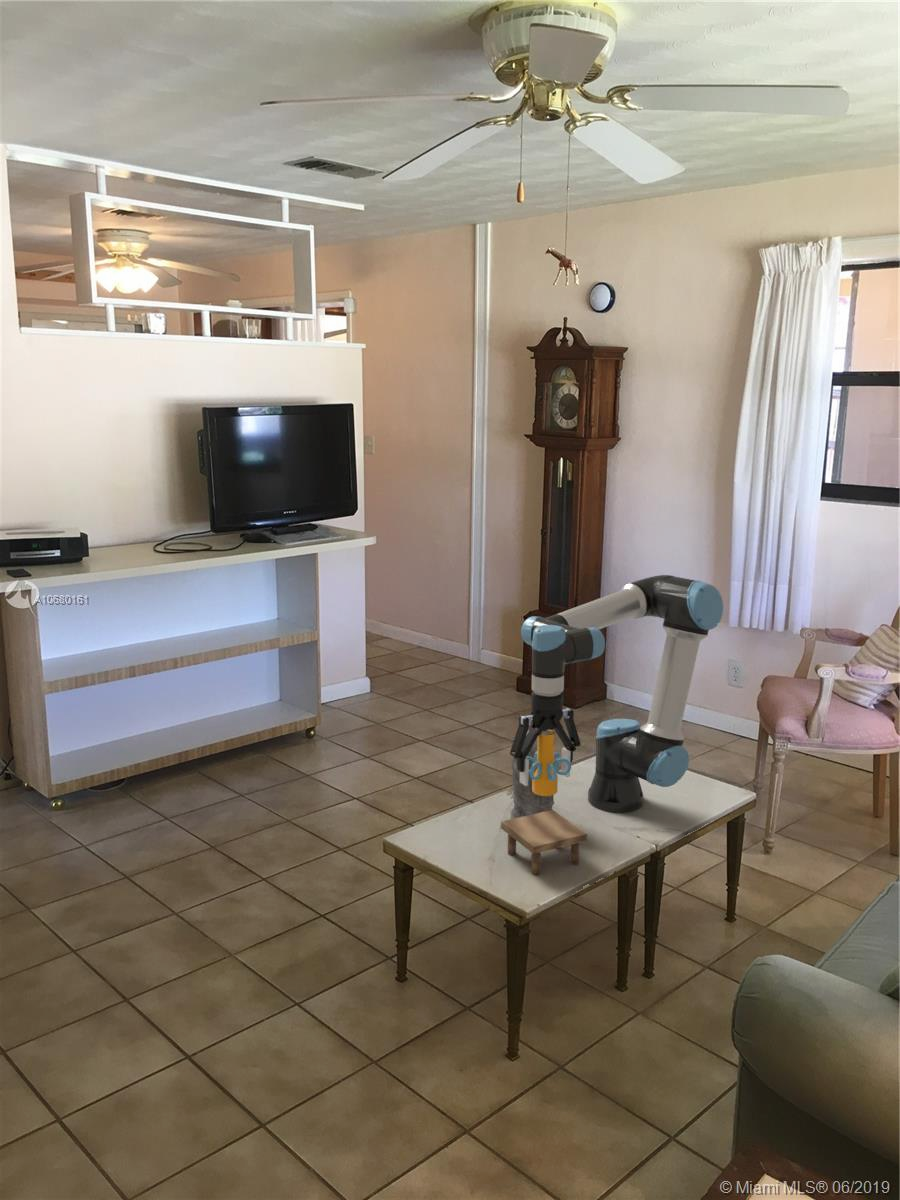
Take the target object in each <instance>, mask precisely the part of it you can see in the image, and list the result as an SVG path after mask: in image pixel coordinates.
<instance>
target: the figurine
mask: <svg viewBox="0 0 900 1200" xmlns="http://www.w3.org/2000/svg"><path fill="white" fill-rule="evenodd" d="M528 732H529V730H528ZM528 732H527V734H528ZM526 736H527V735H526ZM537 743H538V737H537V739H536V741H535V743H534V744H533V746H532V748H531V750H530V752H529V753H528V755H527V757H533V758H534V755H535V752H536V751H537ZM554 753H555V750H554ZM555 759H557V756H555V757H554V760H555ZM511 763H512V765H511V766H512V768H511V769H512V773H511V774H512V777H511V780H512V781H511V782H512V786H511V791H512V793H513V804H514V805H513V807H512V809H511V810H510V815H509V816H510V819H515V818H519V817H523V816H528V815H532V814H536V813H541V812H545V811H550V810H553V806H554V805H555V801H554V795H555V794H554V795H552V796H540V795H537V794H535V793H533V791H532V778H531V776H530V773H529V774H528V786H525V785H523V784H522V783H520V782H519V781H520V771H518V769H517V758H515V757H513V759H512V762H511ZM533 764H534V763H533V761H531V760H529V770H531V767H532V765H533ZM533 773H534V772H533Z"/></svg>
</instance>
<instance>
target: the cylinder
mask: <svg viewBox="0 0 900 1200" xmlns="http://www.w3.org/2000/svg"><path fill="white" fill-rule="evenodd" d="M555 735H556V731H555V730H547V731H542V733H541V734H540V735H539V736H538V743H537V751H536V752H535V755H534V758H533V757H526V758H527V759H529V760H531V761H533V763H534V764H533V765H532V767H531V770H529V773H530V776H531V778H532V791H533V793H535V794H537V795H540V796H552V795H556V794H557V793H558V779H559V778H558V777H559V776H564V775H566V774H568V773H569V772H570V773H571V770H572V765H571V762H569V761H568V760H567V759H565V758H561V755H560V754H559V752H555V753H554V751H555V739H556V737H555ZM555 756H556V760H555V759H554V757H555ZM561 761H563V762H566V763H567V765H568V769H567V770H566V771H564V772H561V770H559V769H558V768H559V765H560V764H561ZM533 772H534V773H533ZM558 775H559V776H558Z"/></svg>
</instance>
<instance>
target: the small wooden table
mask: <svg viewBox="0 0 900 1200" xmlns="http://www.w3.org/2000/svg"><path fill="white" fill-rule="evenodd" d="M500 829H502V830H503V831H504V832H505V833H506V834H507V854H508V855H509V856H515V855H516V854H517V842H518V843H519V844H520V845H521V846H523V848H525V849H527V850H528V851H529V852H530V853H531V875H534V876H539V875H540V874H541V856H542V855H541V854H542V853H543V852H548V851H552V850H557V849H559V848H560V849H561V848H564V847H567V846H570V858H569V859H570V864H571V865H574V866H575V865H579V863H580V860H579V859H580V843H584V842H588V833H587V832H586V831H584V830H582V829H581V828H580V827H578V826H577V825H575V824H574V823H572V822H571V821H569V820H568V819H567V818H565V817H564V816H563V815H561V814H560V813H558V812H557V811H555V810H554V809H552V810H550V811H545V812H541V813H536V814H532V815H528V816H523V817H519V818H515V819H511V818H510V819H506V820H502V821H500Z"/></svg>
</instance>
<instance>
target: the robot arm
mask: <svg viewBox="0 0 900 1200" xmlns="http://www.w3.org/2000/svg"><path fill="white" fill-rule="evenodd" d="M723 614H724V601H723V598H722V595H721V592H720V591H719V589H718V588H717V587H716V586H714V585H713V584H710V583H707V582H703V581H701V580H695V579H690V578H684V577H680V576H674V575H670V574H660V575H654V576H653V575H652V576H650V577H645V578H643V579H639V580H635V581H633V582H630V583H627V584H625V585H623V586H622V588H621V589H620V590H619V591H616V592H613V593H611V594H608V595H604V596H603V597H600V598H596V599H594V600H591V601H589V602H587V603H584V604H581V605H578V606H576V607H573V608H570V609H567V610H565V611H562V612H559V613H556V614H553V615H551V616H548V617H543V616H535V615H534V616H530V617H528V618H527V619H525V620H524V622H523V624H522V626H521V631H520V632H521V638H522V640H523V642H524V643H526V644H527V645H529V646H531V690H532V691H531V693H530V707H531V712H530V713H529V715H523V714H520V715H519V718H518V726H517V730H516V733H515V736H514V738H513V741H512V744H511V749H510V751H509V755H510V756H511V757H513V758H514V757H515V758H517V769H518V771H520V781H519V782H520V783H522V784H523V785H525V786H528V774H529V759H527V758H526V757H527V755H528V753H529V752H530V750H531V748H532V746H533V744H534V743H535V741H536V739H537V737H538V736H539V735H540V734H541V733H542V731H547V730H552V731H554V732H555V734H556V735H557V736H558V738H559V739H560V741H561V743H562V744H563V746H564V747H561V755H560V758H565V759H567V760H568V761H569V762H570V763H573V760H574V757H573V756H574V752H576V750H577V747H580V746H581V739H580V737H579V734H578V730H577V727H576V723H575V720H574V717H575V716H574V715H575V714H574V712H575V711H574V710H572V709H571V708H569V707H566V706H565V707H564V693H563V692H564V689H565V687H564V686H565V665H568V664H574V663H578V662H583V661H591V660H592V659H596V658H598V657H600V656H601V655H603V653H604V651H605V648H606V647H605V646H606V639H605V636H604V634H603V633H602V631H601V630H602V629H604V628H606V627H609V626H611V625H615V624H618V623H619V622H623V621H625V620H627V619H630V618H631V619H636V620H638V619H641V618H644V617H653V618H661V619H663V623H662V628H663V630H664V631H665V632H666V637H665V641H664V646H663V651H662V655H661V660H660V664H659V668H658V674H657V678H656V681H655V682H656V683H655V686H654V691H653V696H652V701H651V705H650V709H649V713H648V718H647V721H646V723H644V724H643V725H642V726H641V723H640V721H638V720H636V719H631V718H630V719H629V718H613V719H607V720H604V721H602V722H600V723H599V724H598V725H597V729H596V737H595V771H594V775H593V779H592V782H591V784H590V787H589V789H588V792H587V801H588V802H589V804H590V805H592V806H593V807H595V808H597V809H599V810H603V811H607V812H612V813H613V812H614V813H627V812H633V811H637V810H638V809H640V808H641V807H642V806H643V804H644V793H643V789H642V785H641V783H640V779H642V780H644V781H646V782H647V783H649V784H651V785H656V786H659V787H662V788H669V787H672V786H674V785H676V784H677V783H678V782H679V781H681V779H682V778H683V776H685V773H686V772H687V770H688V767H689V764H690V755H689V751H688V750H687V748H685V747H684V742H685V737H684V735H683V732H682V730H681V729H682V723H683V719H684V716H685V715H684V714H685V711H686V705H687V701H688V696H689V692H690V688H691V684H692V679H693V675H694V668H695V665H696V660H697V657H698V651H699V647H700V642H701V641H702V640H704V639H706V638H707V637H708V634H709V631H711V630H714V629H715V628H716V627H717V626H718V624H719V623H720V621H721V619H722V617H723ZM563 707H564V708H563ZM562 718H563V721H564V724H565V727H566V730H567V732H566V731H565V729H564V726H563V724H562V723H561V720H562ZM528 731H529V732H528ZM527 732H528V734H527ZM526 735H527V736H526ZM567 769H568V765H567V763H566V762H563V761H561V762H560V772H564V771H566V770H567ZM563 776H565V777H566V778H570V776H571V771H570V772H569V773H568V774H566V775H563Z"/></svg>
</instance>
